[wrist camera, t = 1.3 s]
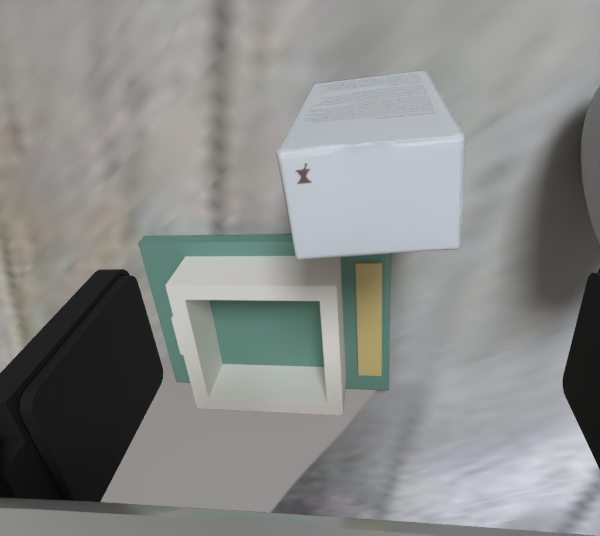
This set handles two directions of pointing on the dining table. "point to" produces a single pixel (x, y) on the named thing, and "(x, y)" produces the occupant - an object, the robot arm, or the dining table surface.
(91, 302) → the robot arm
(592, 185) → the donut
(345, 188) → the skincare box
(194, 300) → the board
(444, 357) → the dining table surface
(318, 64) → the dining table surface
